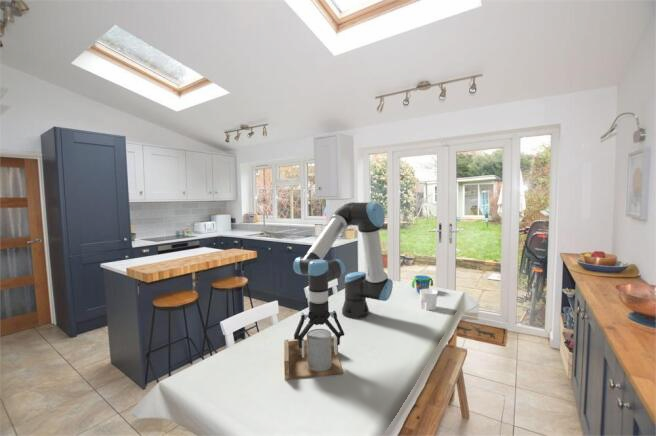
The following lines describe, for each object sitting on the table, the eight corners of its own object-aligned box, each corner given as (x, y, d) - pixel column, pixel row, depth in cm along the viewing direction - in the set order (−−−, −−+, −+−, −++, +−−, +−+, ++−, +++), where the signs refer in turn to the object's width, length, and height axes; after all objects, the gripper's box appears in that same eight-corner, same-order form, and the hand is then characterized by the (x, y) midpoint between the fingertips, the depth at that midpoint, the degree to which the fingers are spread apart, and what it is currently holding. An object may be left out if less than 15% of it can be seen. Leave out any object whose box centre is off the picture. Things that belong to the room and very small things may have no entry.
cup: (440, 308, 180) (441, 291, 179) (429, 312, 174) (430, 295, 173) (426, 303, 188) (426, 287, 187) (415, 307, 182) (415, 290, 182)
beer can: (303, 362, 122) (302, 331, 122) (325, 356, 127) (324, 327, 126) (313, 374, 114) (312, 341, 113) (336, 367, 118) (335, 336, 117)
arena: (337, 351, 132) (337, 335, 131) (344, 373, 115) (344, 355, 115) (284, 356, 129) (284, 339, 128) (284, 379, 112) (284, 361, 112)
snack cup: (428, 288, 218) (428, 274, 217) (437, 293, 207) (437, 278, 207) (408, 290, 214) (408, 275, 214) (415, 295, 204) (415, 280, 203)
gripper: (347, 295, 124) (348, 347, 126) (286, 299, 121) (287, 351, 122) (351, 301, 117) (352, 356, 118) (286, 305, 113) (288, 362, 115)
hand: (319, 354), depth 120 cm, fingers open, 12 cm apart
